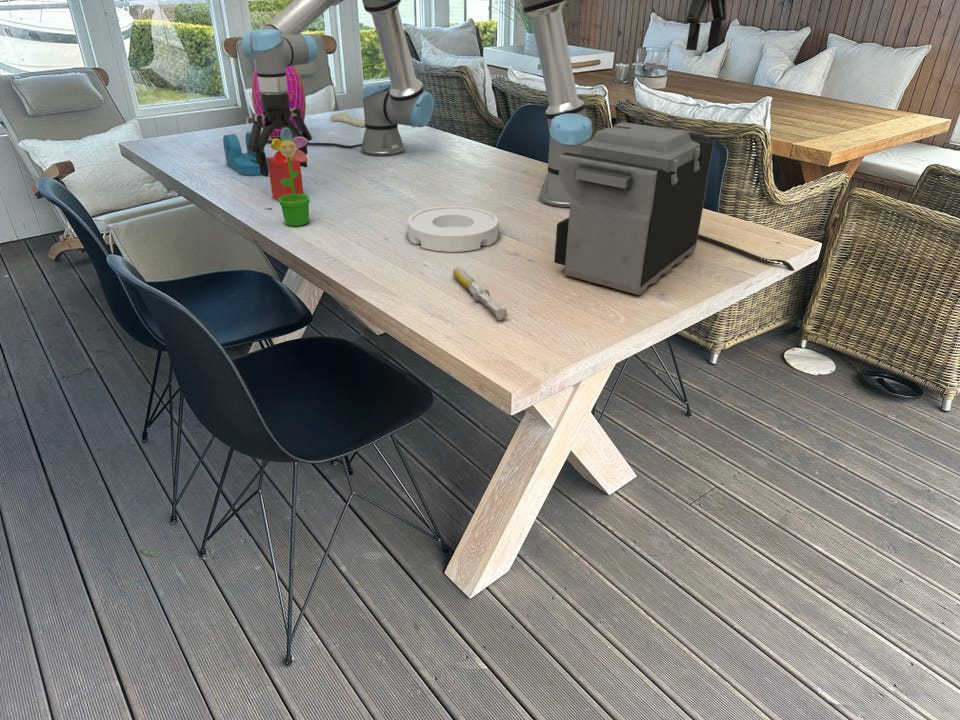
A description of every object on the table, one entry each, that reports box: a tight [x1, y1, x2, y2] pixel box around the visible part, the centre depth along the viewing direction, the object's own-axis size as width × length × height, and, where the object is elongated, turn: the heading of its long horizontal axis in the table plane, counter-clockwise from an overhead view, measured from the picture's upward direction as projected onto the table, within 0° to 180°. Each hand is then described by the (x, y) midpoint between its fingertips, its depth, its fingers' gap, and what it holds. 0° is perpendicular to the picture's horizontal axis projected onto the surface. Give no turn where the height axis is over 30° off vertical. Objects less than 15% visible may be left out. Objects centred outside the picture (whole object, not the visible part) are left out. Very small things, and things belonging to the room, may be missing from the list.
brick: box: [266, 156, 305, 201], centre depth 199 cm, size 6×8×12 cm
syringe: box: [452, 266, 509, 321], centre depth 145 cm, size 25×4×3 cm, turn 21°
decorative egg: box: [251, 65, 307, 141], centre depth 257 cm, size 19×19×30 cm
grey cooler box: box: [554, 121, 715, 296], centre depth 154 cm, size 37×22×30 cm, turn 144°
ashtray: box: [407, 205, 499, 253], centre depth 175 cm, size 23×23×4 cm
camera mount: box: [222, 131, 269, 176], centre depth 226 cm, size 18×10×10 cm, turn 35°
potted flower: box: [270, 128, 310, 227], centre depth 177 cm, size 9×8×25 cm
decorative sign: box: [330, 112, 365, 128], centre depth 295 cm, size 26×1×10 cm
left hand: (284, 171), depth 197 cm, fingers open, 13 cm apart
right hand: (702, 48), depth 191 cm, fingers open, 13 cm apart
